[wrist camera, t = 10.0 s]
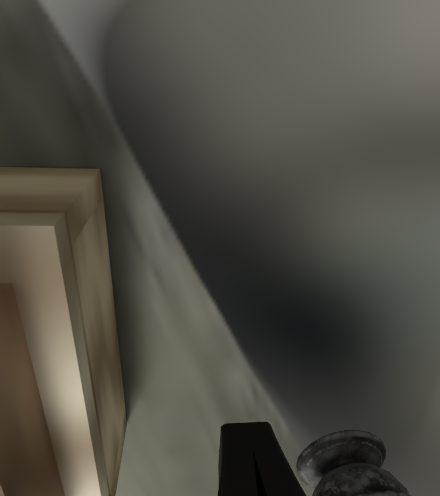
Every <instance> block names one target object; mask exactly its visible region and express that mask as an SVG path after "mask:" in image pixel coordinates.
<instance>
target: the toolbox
mask: <svg viewBox="0 0 440 496" xmlns="http://www.w3.org/2000/svg"><path fill="white" fill-rule="evenodd" d="M0 212H17V213H64V214H65V220H66V226H67V233H68V239H69V245H70V252H71V258H72V264H73V271H74V277H75V283H76V290H77V296H78V302H79V309H80V315H81V321H82V328H83V334H84V340H85V347H86V353H87V359H88V366H89V372H90V378H91V385H92V391H93V397H94V404H95V410H96V416H97V423H98V429H99V435H100V442H101V448H102V454H103V461H104V467H105V473H106V480H107V486H108V492H109V496H115V494H116V488H117V482H118V475H119V469H120V463H121V457H122V451H123V445H124V439H125V432H126V426H127V420H126V410H125V401H124V391H123V381H122V372H121V362H120V353H119V343H118V334H117V324H116V315H115V305H114V296H113V286H112V277H111V267H110V258H109V248H108V239H107V229H106V220H105V210H104V201H103V191H102V182H101V172H100V169H84V168H34V167H0Z"/></svg>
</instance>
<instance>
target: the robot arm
mask: <svg viewBox="0 0 440 496" xmlns="http://www.w3.org/2000/svg"><path fill="white" fill-rule="evenodd" d="M218 468H219V490H218V496H306V494H305V493H304V491H303V489H302V487H301V486H300V484H299V482H298V480H297V478H296V477H295V475H294V473H293V471H292V469H291V467H290V465H289V463H288V461H287V459H286V458H285V456H284V453H283V451H282V449H281V447H280V445H279V443H278V441H277V439H276V437H275V434H274V432H273V430H272V427H271V425H270V424H269V423H268V422H250V423H228V424H224V425H223V426H221V435H220V450H219V465H218Z"/></svg>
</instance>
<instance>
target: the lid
mask: <svg viewBox="0 0 440 496" xmlns="http://www.w3.org/2000/svg"><path fill="white" fill-rule="evenodd" d="M0 496H109V492H108V486H107V480H106V473H105V467H104V461H103V454H102V448H101V442H100V435H99V429H98V423H97V416H96V410H95V404H94V397H93V391H92V385H91V378H90V372H89V366H88V359H87V353H86V347H85V340H84V334H83V328H82V321H81V315H80V309H79V302H78V296H77V290H76V283H75V277H74V271H73V264H72V258H71V252H70V245H69V239H68V233H67V226H66V220H65V214H64V213H17V212H0Z"/></svg>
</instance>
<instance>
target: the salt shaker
mask: <svg viewBox="0 0 440 496" xmlns="http://www.w3.org/2000/svg"><path fill="white" fill-rule="evenodd" d="M385 457H386V449H385V447H384V444H383V442H382V441H381V440H380V439H379V438H378V437H377V436H375V435H373V434H371V433H369V432H365V431H360V430H345V431H340V432H335V433H331V434H329V435H326V436H323V437H321V438H319V439H318V440H316V441H315V442H313V443H311V444H310V445H309V446H308V447H307V448H305V449H304V450H303V452H302V453H301V455H300V456H299V458H298V461H297V465H296V467H297V473H298V476H299V477H300V479H301V480H302V481H303V482H304V483H306V484H307V485H308V486H311V487H314V488H315V490H314V492H313V495H312V496H410V495H409V493H408V491H407V489H406V488H405V487H404V486H403V485H402V484H401V483H400V482H399V481H398V480H397V479H396V478H395V477H394V476H393V475H392V474H391V473H390V472H388V471H386V470H384V469H382V468H380V467H381V466H382V464H383V462H384V460H385Z"/></svg>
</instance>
